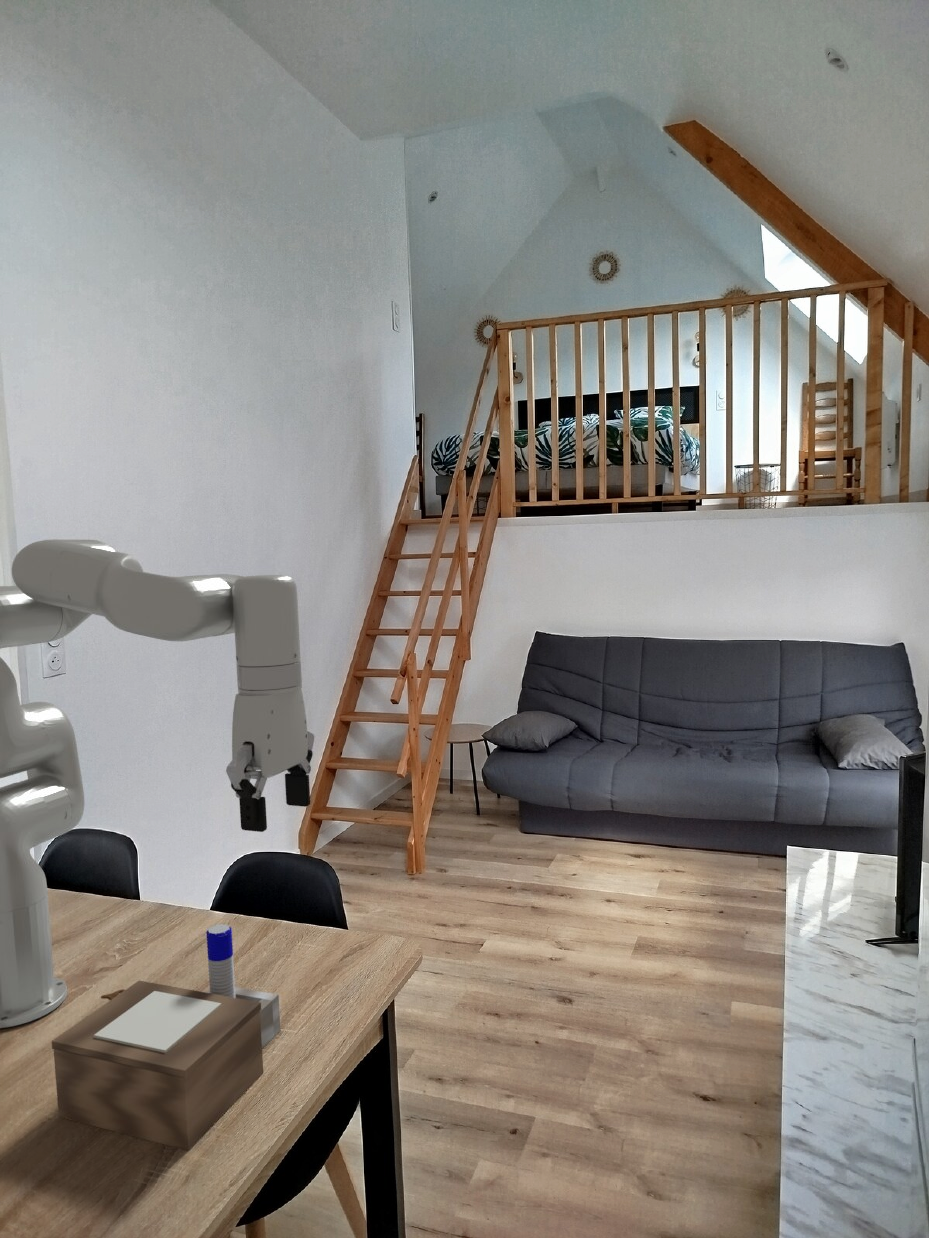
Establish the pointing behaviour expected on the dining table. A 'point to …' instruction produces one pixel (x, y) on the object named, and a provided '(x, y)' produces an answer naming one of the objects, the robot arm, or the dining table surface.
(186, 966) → the dining table surface
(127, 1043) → the lid mat
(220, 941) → the bolt
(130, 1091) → the wooden box
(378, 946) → the dining table surface
